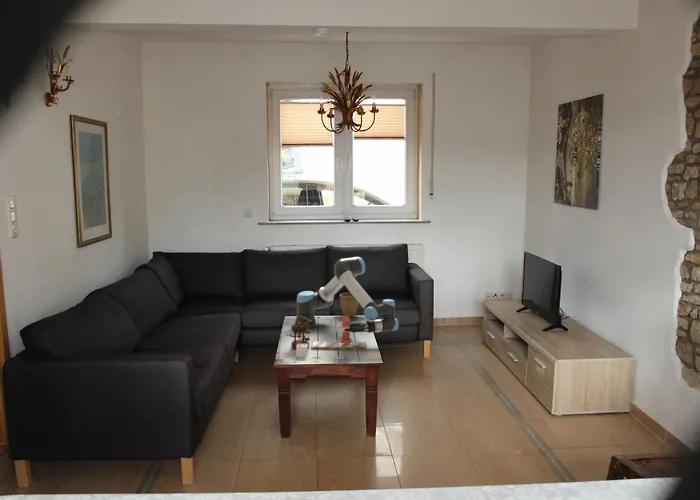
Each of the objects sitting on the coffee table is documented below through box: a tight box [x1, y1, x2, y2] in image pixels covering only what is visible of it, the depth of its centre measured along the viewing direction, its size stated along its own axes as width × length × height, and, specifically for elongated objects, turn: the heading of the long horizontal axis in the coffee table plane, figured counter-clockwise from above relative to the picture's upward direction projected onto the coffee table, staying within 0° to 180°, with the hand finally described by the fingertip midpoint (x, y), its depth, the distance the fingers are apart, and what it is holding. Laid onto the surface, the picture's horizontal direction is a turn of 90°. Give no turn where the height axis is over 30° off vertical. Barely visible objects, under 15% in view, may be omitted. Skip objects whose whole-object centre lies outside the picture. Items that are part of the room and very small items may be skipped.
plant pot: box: [339, 292, 360, 318], centre depth 433 cm, size 15×15×16 cm
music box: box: [286, 316, 312, 351], centre depth 353 cm, size 15×11×20 cm
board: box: [310, 341, 368, 351], centre depth 358 cm, size 33×12×2 cm, turn 90°
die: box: [295, 344, 308, 358], centre depth 341 cm, size 6×6×6 cm
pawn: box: [339, 315, 353, 344], centre depth 357 cm, size 7×7×16 cm
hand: (337, 329), depth 355 cm, fingers closed on pawn, 4 cm apart
